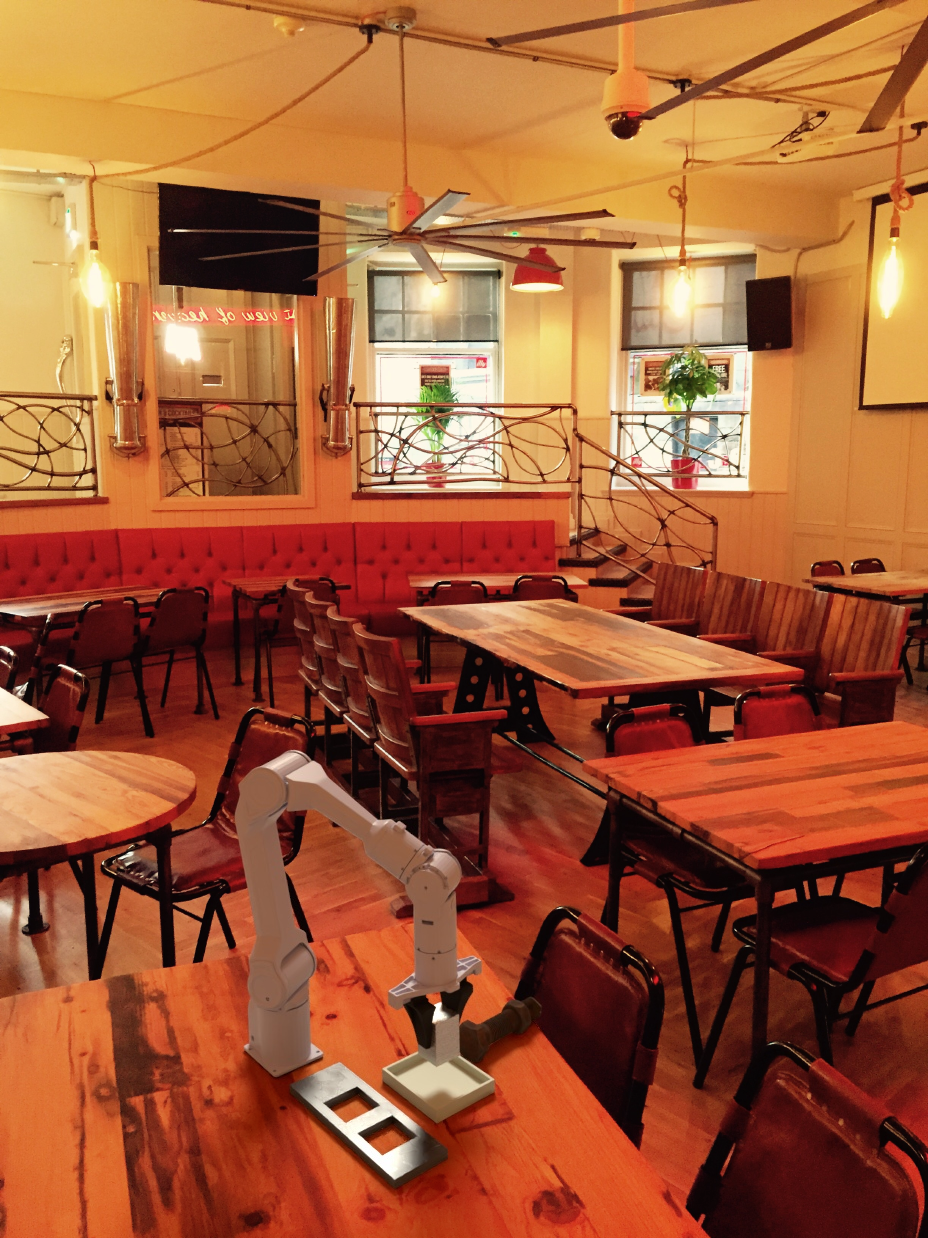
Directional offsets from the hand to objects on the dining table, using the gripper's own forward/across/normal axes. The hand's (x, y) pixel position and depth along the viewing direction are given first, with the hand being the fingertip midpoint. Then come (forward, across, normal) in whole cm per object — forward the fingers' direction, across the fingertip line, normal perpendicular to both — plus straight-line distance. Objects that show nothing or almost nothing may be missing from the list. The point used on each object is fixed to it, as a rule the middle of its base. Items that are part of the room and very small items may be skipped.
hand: (437, 1039), depth 132 cm
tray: (+7, 0, 0) cm, 7 cm away
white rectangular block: (+2, 0, 0) cm, 2 cm away
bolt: (+7, +14, +3) cm, 16 cm away
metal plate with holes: (+7, -12, 0) cm, 14 cm away
